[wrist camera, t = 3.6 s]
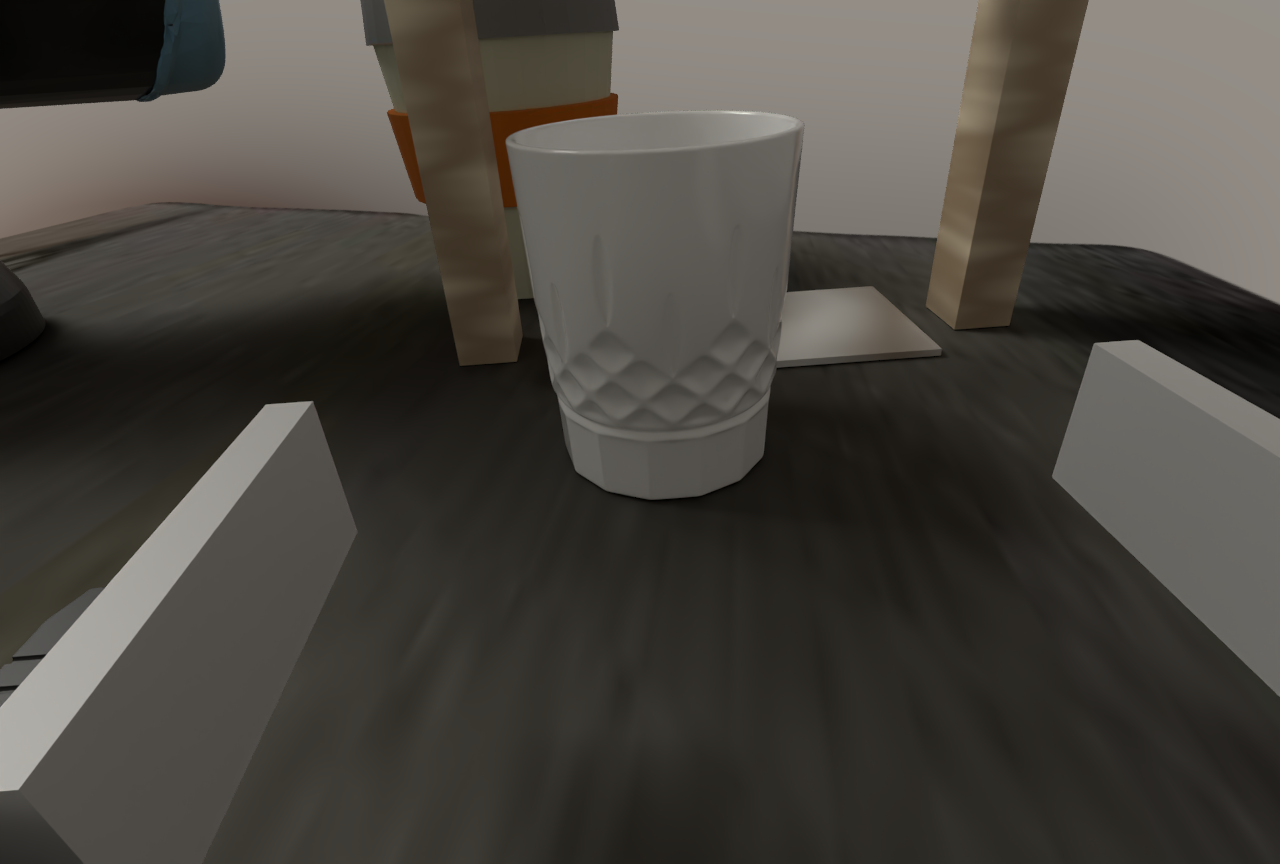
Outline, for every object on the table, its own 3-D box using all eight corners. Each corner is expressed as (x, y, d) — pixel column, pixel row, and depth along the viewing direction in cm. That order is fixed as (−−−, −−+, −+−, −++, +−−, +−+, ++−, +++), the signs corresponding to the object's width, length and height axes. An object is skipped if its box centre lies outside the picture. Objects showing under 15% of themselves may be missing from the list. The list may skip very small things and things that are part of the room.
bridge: (449, 391, 27) (312, -227, 18) (477, 319, 34) (389, -155, 25) (1041, 348, 28) (1210, -271, 19) (952, 285, 35) (1043, -189, 25)
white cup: (534, 412, 26) (491, 125, 20) (727, 377, 27) (732, 104, 22) (576, 539, 19) (528, 163, 14) (827, 483, 21) (866, 129, 16)
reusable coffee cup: (666, 252, 43) (656, -34, 35) (565, 323, 33) (522, -48, 26) (503, 239, 48) (464, -14, 40) (374, 297, 38) (290, -21, 30)
